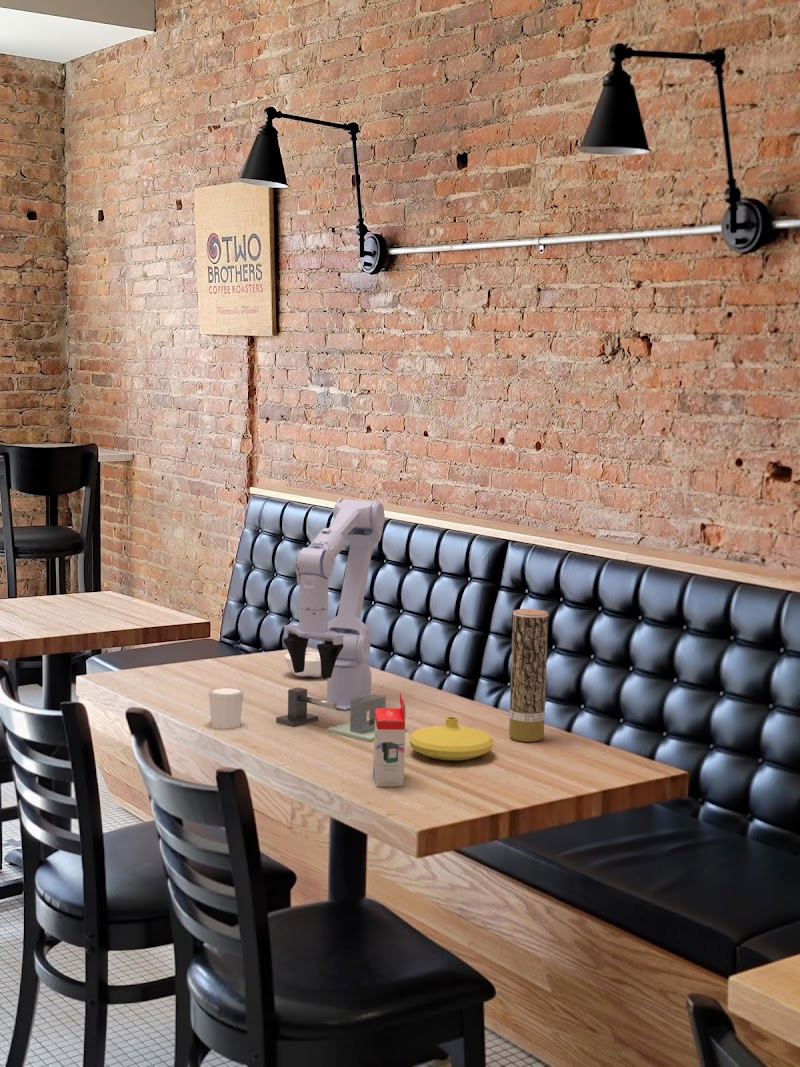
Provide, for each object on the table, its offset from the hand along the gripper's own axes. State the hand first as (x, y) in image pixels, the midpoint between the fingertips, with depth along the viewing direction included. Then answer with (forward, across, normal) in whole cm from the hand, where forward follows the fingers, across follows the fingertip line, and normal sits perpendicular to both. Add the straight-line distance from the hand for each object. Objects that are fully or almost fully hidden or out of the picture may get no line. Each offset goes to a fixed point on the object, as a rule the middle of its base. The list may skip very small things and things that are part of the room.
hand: (312, 675), depth 268 cm
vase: (+10, +34, +2) cm, 35 cm away
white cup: (+10, -11, -13) cm, 20 cm away
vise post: (+10, +1, -1) cm, 10 cm away
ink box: (+10, +36, -18) cm, 41 cm away
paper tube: (+10, +37, +21) cm, 44 cm away
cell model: (+10, -30, +30) cm, 44 cm away
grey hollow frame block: (+10, +12, +3) cm, 16 cm away
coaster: (+10, +12, +3) cm, 16 cm away
